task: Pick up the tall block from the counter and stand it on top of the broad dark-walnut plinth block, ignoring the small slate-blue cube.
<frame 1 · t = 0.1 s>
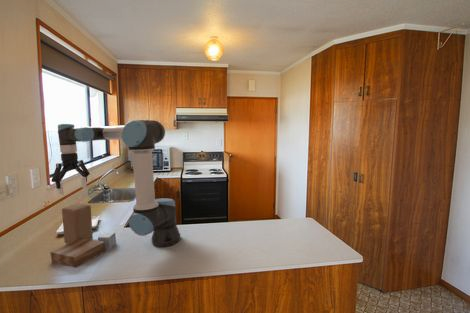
hand: (73, 191, 139), 28 cm above the worktop, fingers open, 13 cm apart
block: (79, 241, 140), on the worktop
plinth: (79, 256, 124), on the worktop
slate cube: (107, 245, 134), on the worktop
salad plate: (80, 228, 161), on the worktop
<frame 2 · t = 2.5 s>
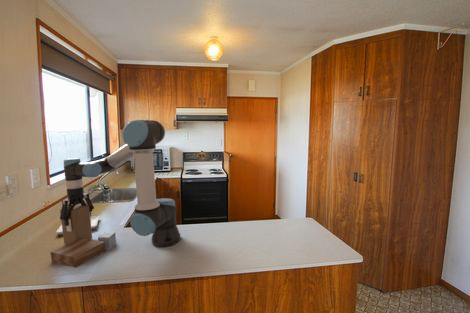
hand: (79, 226, 137), 9 cm above the worktop, fingers open, 11 cm apart
block: (78, 242, 140), on the worktop, touching gripper
everything else where it was.
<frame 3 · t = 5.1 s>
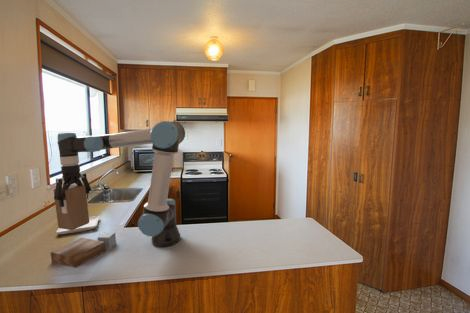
hand: (75, 209, 125), 22 cm above the worktop, fingers closed on block, 10 cm apart
block: (74, 226, 127), point 13 cm above the worktop, touching gripper
everything else where it was.
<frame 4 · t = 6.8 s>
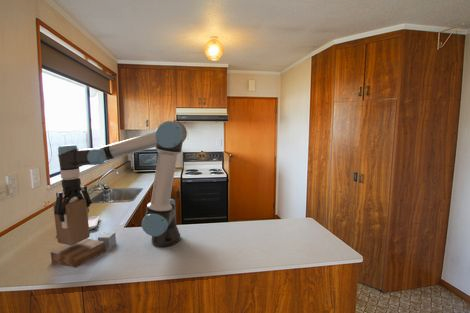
hand: (75, 223, 121), 17 cm above the worktop, fingers closed on block, 10 cm apart
block: (74, 240, 123), point 8 cm above the worktop, touching gripper
everything else where it was.
when the fingers open (15 cm above the worktop, at t = 7.7 s): block drops 1 cm, resting on plinth.
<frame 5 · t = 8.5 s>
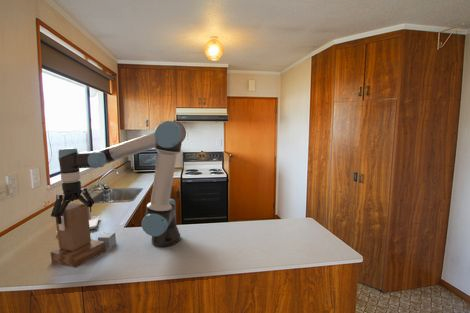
hand: (76, 224, 122), 16 cm above the worktop, fingers open, 13 cm apart
block: (75, 246, 124), point 5 cm above the worktop, touching plinth
everything else where it was.
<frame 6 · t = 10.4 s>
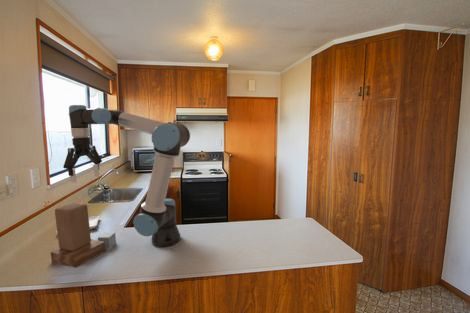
hand: (85, 179, 128), 36 cm above the worktop, fingers open, 13 cm apart
nothing on the worktop moved.
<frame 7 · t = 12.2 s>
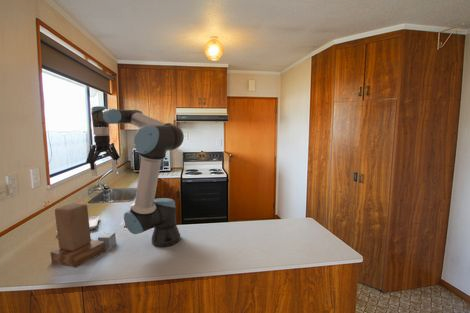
hand: (105, 173, 142), 37 cm above the worktop, fingers open, 13 cm apart
nothing on the worktop moved.
at the end: block 2.1 cm from the plinth (horizontally); block point 4.8 cm above the worktop; block tilted 0° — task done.
